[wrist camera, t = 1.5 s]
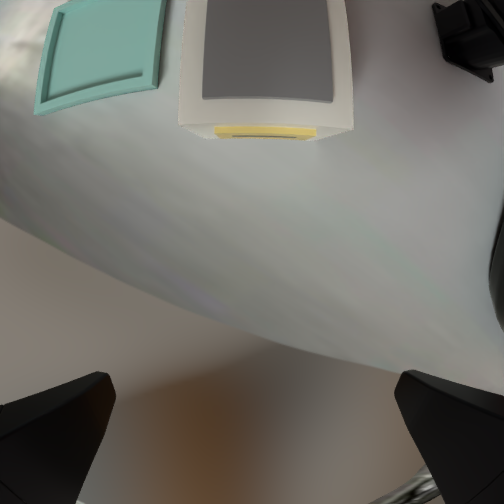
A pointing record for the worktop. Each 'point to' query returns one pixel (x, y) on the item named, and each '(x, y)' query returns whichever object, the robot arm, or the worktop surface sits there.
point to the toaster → (498, 279)
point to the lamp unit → (266, 69)
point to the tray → (99, 52)
